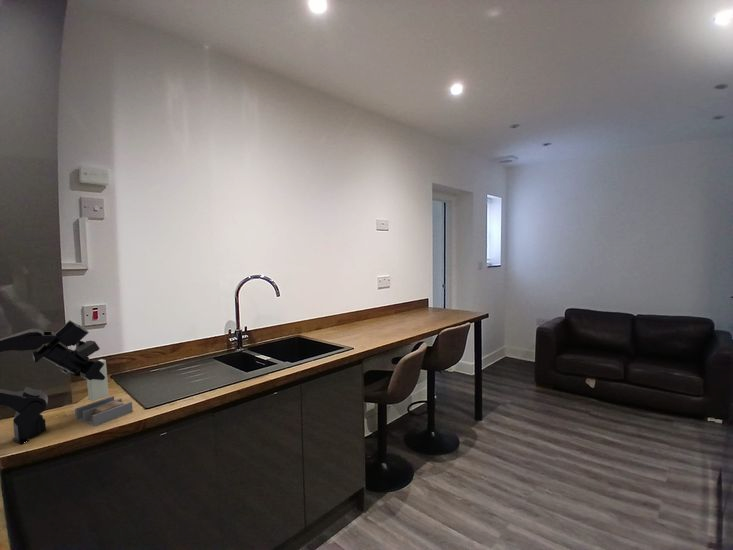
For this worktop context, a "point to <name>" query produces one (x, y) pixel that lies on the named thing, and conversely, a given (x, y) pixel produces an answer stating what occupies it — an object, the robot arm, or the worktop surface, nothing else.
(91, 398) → the pale upright slab
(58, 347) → the robot arm
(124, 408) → the rack
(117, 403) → the offcuts
